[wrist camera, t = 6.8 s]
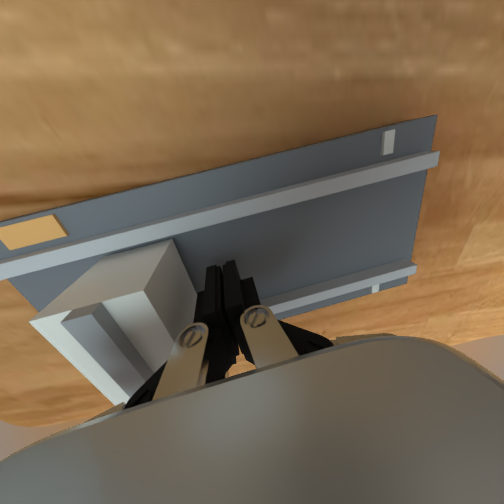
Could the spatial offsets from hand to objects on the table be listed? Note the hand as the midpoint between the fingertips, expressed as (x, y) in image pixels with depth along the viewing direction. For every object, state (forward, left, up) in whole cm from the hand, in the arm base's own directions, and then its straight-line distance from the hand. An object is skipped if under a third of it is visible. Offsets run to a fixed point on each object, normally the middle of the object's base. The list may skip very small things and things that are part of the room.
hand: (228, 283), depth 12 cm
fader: (+4, 0, -1) cm, 5 cm away
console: (-1, 0, -4) cm, 4 cm away
